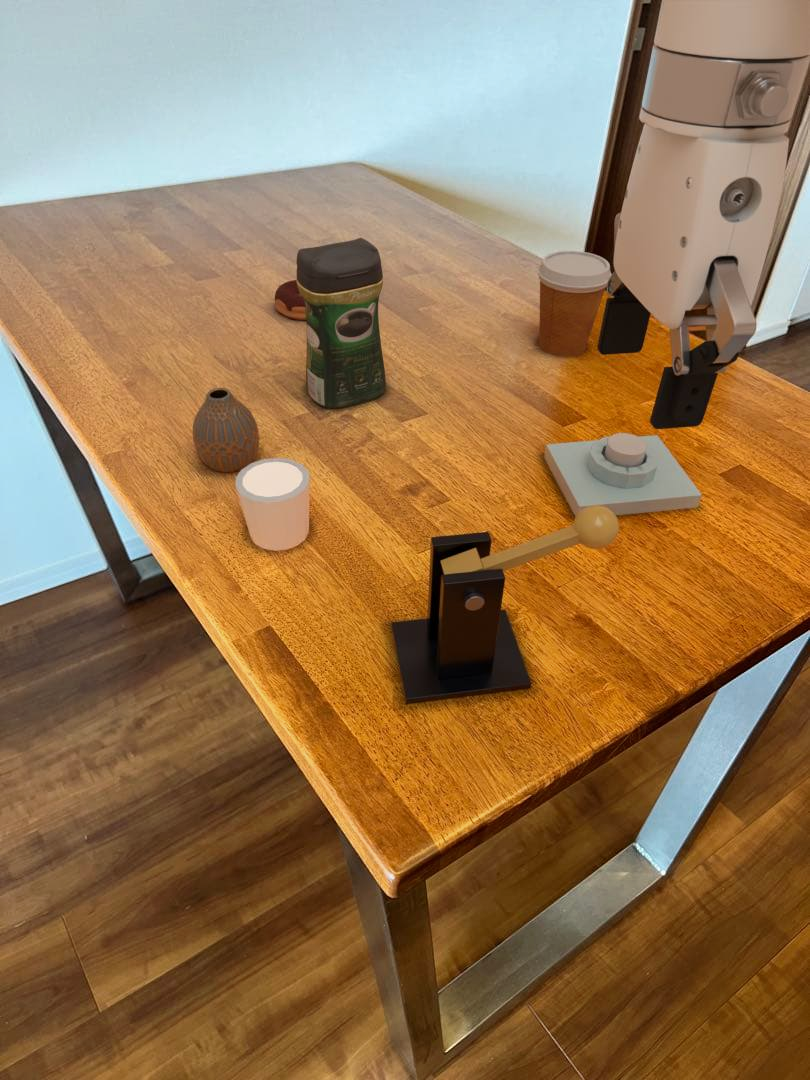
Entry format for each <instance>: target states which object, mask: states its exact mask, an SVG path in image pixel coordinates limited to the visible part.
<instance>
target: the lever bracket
mask: <svg viewBox="0 0 810 1080" xmlns="http://www.w3.org/2000/svg"><path fill="white" fill-rule="evenodd" d="M492 542H493V541H492V538H491V535H490V532H489V531H481V532H471V533H460V534H452V535H450V534H449V535H440V536H431V537H430V547H429V548H430V550H429V551H430V552H429V570H428V571H429V572H428V573H429V574H428V594H427V595H428V596H427V616H426V617H427V618H418V619H408V620H400V621H399V620H398V621H391V622H390V630H391V635H392V640H393V645H394V651H395V656H396V661H397V666H398V672H399V676H400V680H401V687H402V692H403V698H404V702H405V705H412V704H420V703H427V702H428V703H429V702H436V701H443V700H452V699H460V698H466V697H475V696H483V695H491V694H498V693H500V694H501V693H506V692H507V693H508V692H514V691H523V690H530V689H531V688H532V681H531V679H530V676H529V673H528V670H527V666H526V664H525V662H524V658H523V656H522V652H521V650H520V647H519V644H518V641H517V639H516V635H515V633H514V631H513V627H512V624H511V621H510V619H509V616H508V613H507V611H506V609H502V603H503V598H504V592H505V591H504V590H505V584H506V576H505V572H504V571H503V570H502V569H492V570H482V571H473V572H463V573H454V574H444V572H443V569H442V565H441V562H440V561H441V560H443V559H446V558H449V557H452V556H454V555H457V554H460V553H463V552H465V551H468V550H471V549H473V548H476V549H477V552H478V554H479V557H480V559H481V558H484V557H487V556H489V555H491V548H492Z"/></svg>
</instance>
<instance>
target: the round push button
mask: <svg viewBox="0 0 810 1080" xmlns="http://www.w3.org/2000/svg"><path fill="white" fill-rule="evenodd" d="M608 437H609V438H608V440H607V444H606V449H605V453H604V456H605V458H606V460H607V461H609V462H610V463H612V464H614V465H616V466H621V467H626V468H630V467H638V466H640V465H641V464H642V463H643V460H644V457H645V453H646V450H647V444H646V442H645V441H644V440H643V439H642V438H640V436H638V435H636V434H633V433H628V432H618V433H613V434H612V435H610V436H608Z"/></svg>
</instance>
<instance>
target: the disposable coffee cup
mask: <svg viewBox="0 0 810 1080" xmlns="http://www.w3.org/2000/svg"><path fill="white" fill-rule="evenodd" d="M612 274H613V273H612V271H611V265H610V263H609V261H608V260H607V259H605V258H604V257H602V256H600V255H597V254H595V253H591V252H587V251H580V250H559V251H554V252H551V253H548V254H547V255H545V256H544V257H543V258H542V261H541V263H540V265H539V266H538V267H537V275H538V280H539V332H538V333H539V336H538V338H539V339H538V343H539V344H538V345H539V347H540V349H541V350H542V351H544V352H545V353H547V354H549V355H552V356H557V357H576V356H579V355H581V354H583V353H584V352H585V350H586V348H587V345H588V342H589V339H590V336H591V333H592V330H593V328H594V324H595V320H596V318H597V315H598V311H599V309H600V305H601V302H602V300H603V296H604V294H605V290H606V289H607V282H608V280H609V278H610V277H611V275H612Z"/></svg>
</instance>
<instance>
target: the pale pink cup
mask: <svg viewBox="0 0 810 1080" xmlns="http://www.w3.org/2000/svg"><path fill="white" fill-rule="evenodd" d="M310 488H311V478H310V471H309V470H308V469H307V468H306V467H305V465H304V464H302V463H300V462H298V461H296V460H293V459H290V458H283V457H270V458H263V459H260V460H256V461H252V462H251V463H250V464H249V465H248V466H246V467H245V468H243V469H242V470H239V472H238V474H237V475H236V476H235V491H236V493H237V496H238V501H239V503H240V507H241V510H242V513H243V516H244V520H245V523H246V526H247V530H248V533H249V536H250V539H251V540H252V541H253V543H254V545H256V546H257V547H260V548H262V549H263V550H267V551H274V552H277V551H286V550H289V549H292V548H295V547H297V546H299V545H300V544H301V543H302V542H304V541H305V540H306V538H307V537H308V535H309V532H310V498H311V497H310V495H311V494H310V493H311V492H310V491H311V489H310Z"/></svg>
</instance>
